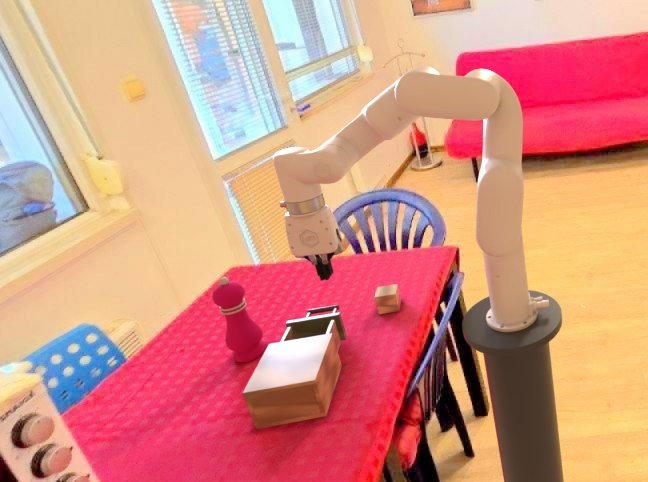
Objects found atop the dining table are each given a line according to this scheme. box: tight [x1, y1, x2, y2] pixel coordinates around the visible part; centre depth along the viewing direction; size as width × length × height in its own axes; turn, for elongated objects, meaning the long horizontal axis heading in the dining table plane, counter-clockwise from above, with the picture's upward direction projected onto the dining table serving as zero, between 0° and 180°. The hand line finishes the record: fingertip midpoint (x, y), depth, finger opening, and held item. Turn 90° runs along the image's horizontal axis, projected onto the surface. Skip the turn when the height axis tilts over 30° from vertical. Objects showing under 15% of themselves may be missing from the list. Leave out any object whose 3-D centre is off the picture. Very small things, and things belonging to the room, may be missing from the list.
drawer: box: [279, 304, 348, 351], centre depth 116 cm, size 21×11×7 cm, turn 11°
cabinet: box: [242, 333, 343, 430], centre depth 103 cm, size 15×13×9 cm
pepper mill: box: [211, 276, 266, 363], centre depth 116 cm, size 7×7×20 cm
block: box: [374, 283, 402, 315], centre depth 132 cm, size 5×5×5 cm
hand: (326, 277), depth 120 cm, fingers closed
